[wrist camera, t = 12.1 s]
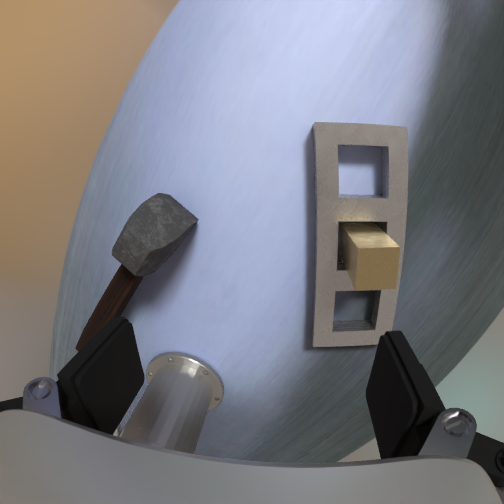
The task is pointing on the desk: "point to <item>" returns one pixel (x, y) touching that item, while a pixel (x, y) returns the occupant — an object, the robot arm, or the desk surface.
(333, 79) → the desk surface
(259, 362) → the desk surface
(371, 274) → the brass peg
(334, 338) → the white flat frame
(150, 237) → the hammer
